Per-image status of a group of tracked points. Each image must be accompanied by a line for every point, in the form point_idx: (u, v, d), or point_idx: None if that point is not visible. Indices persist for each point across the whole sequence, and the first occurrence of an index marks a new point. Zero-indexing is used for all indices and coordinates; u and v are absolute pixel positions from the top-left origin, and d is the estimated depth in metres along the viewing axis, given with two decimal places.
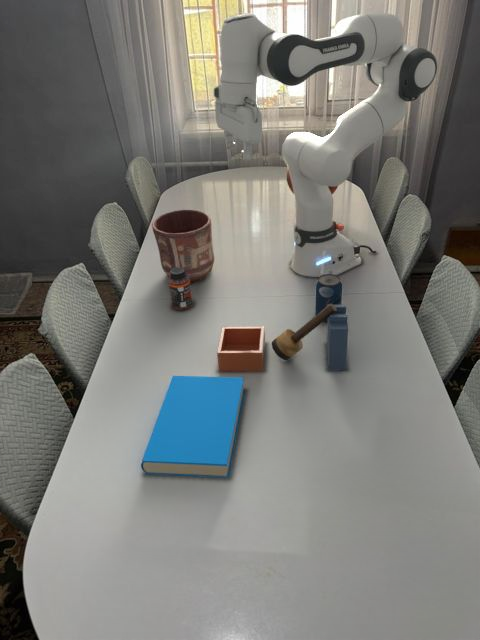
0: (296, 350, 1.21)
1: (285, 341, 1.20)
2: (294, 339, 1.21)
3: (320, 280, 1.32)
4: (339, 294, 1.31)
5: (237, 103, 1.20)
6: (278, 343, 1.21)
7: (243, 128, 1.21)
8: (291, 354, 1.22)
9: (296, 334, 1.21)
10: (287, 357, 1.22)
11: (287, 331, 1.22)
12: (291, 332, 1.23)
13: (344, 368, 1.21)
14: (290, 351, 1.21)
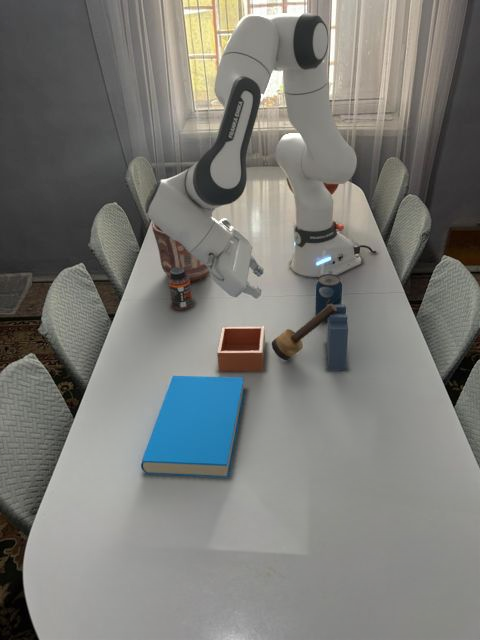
0: (296, 350, 1.21)
1: (285, 341, 1.20)
2: (294, 339, 1.21)
3: (320, 280, 1.32)
4: (339, 294, 1.31)
5: None
6: (278, 343, 1.21)
7: None
8: (291, 354, 1.22)
9: (296, 334, 1.21)
10: (287, 357, 1.22)
11: (287, 331, 1.22)
12: (291, 332, 1.23)
13: (344, 368, 1.21)
14: (290, 351, 1.21)
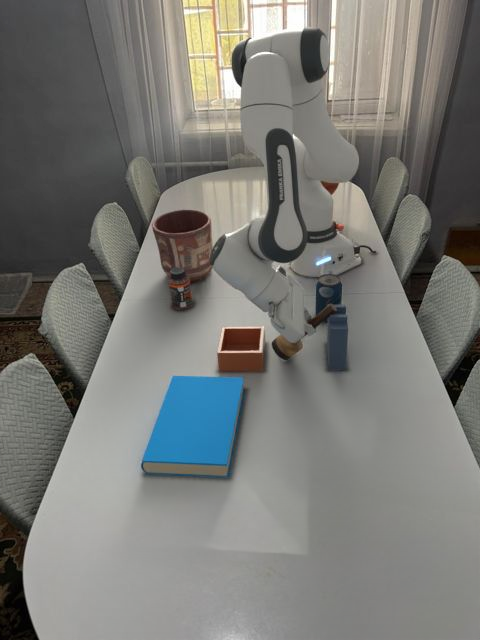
0: (296, 350, 1.21)
1: (285, 341, 1.20)
2: None
3: (320, 280, 1.32)
4: (339, 294, 1.31)
5: (267, 310, 1.13)
6: (278, 343, 1.21)
7: None
8: (291, 354, 1.22)
9: None
10: (287, 357, 1.22)
11: None
12: None
13: (344, 368, 1.21)
14: (290, 351, 1.21)
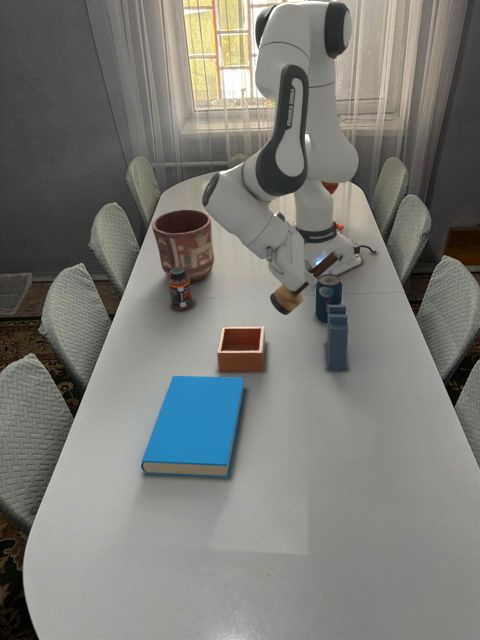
0: (296, 303, 1.13)
1: (284, 293, 1.12)
2: (294, 291, 1.13)
3: (320, 280, 1.32)
4: (339, 294, 1.31)
5: (265, 256, 1.05)
6: (277, 295, 1.13)
7: None
8: (291, 307, 1.14)
9: None
10: (286, 311, 1.14)
11: None
12: None
13: (344, 368, 1.21)
14: (289, 304, 1.13)
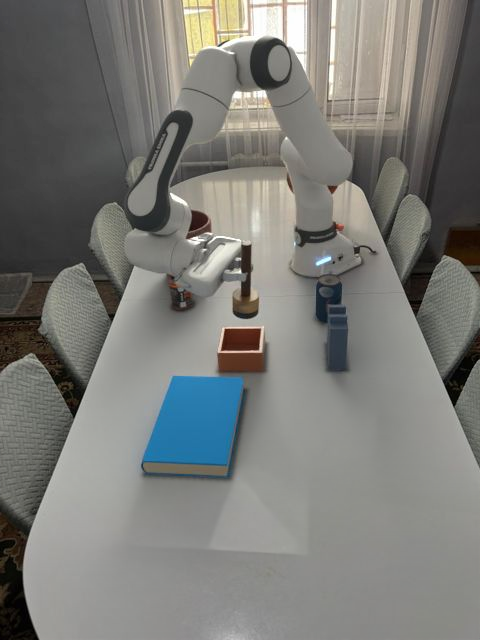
0: (247, 303, 1.13)
1: (233, 300, 1.14)
2: (242, 294, 1.14)
3: (320, 280, 1.32)
4: (339, 294, 1.31)
5: None
6: None
7: None
8: (246, 310, 1.14)
9: (241, 288, 1.14)
10: (246, 314, 1.15)
11: (237, 289, 1.16)
12: None
13: (344, 368, 1.21)
14: (242, 308, 1.14)
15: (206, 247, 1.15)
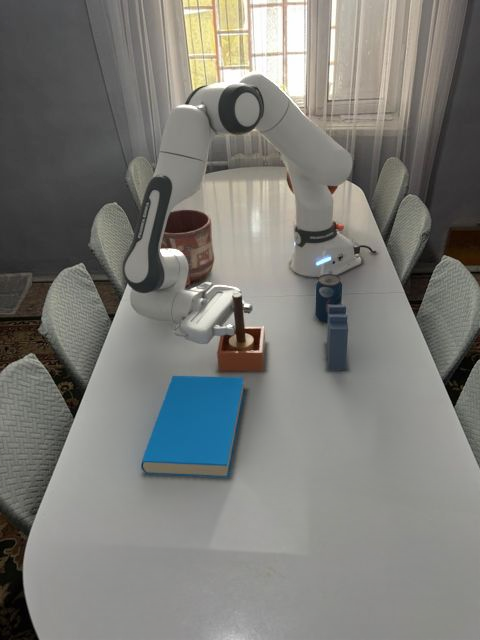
0: (241, 349, 1.21)
1: (229, 346, 1.23)
2: (237, 340, 1.22)
3: (320, 280, 1.32)
4: (339, 294, 1.31)
5: None
6: None
7: None
8: None
9: (236, 335, 1.22)
10: None
11: (233, 336, 1.25)
12: None
13: (344, 368, 1.21)
14: None
15: (204, 296, 1.24)
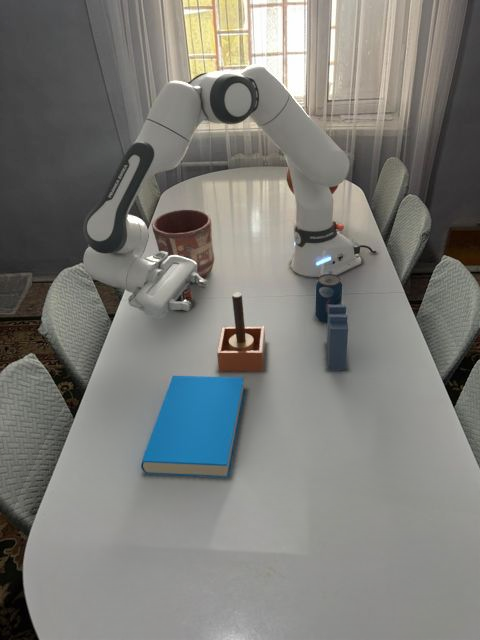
0: (241, 349, 1.21)
1: (229, 346, 1.23)
2: (237, 340, 1.22)
3: (320, 280, 1.32)
4: (339, 294, 1.31)
5: None
6: None
7: None
8: None
9: (236, 335, 1.22)
10: None
11: (233, 336, 1.25)
12: None
13: (344, 368, 1.21)
14: None
15: (160, 267, 1.25)
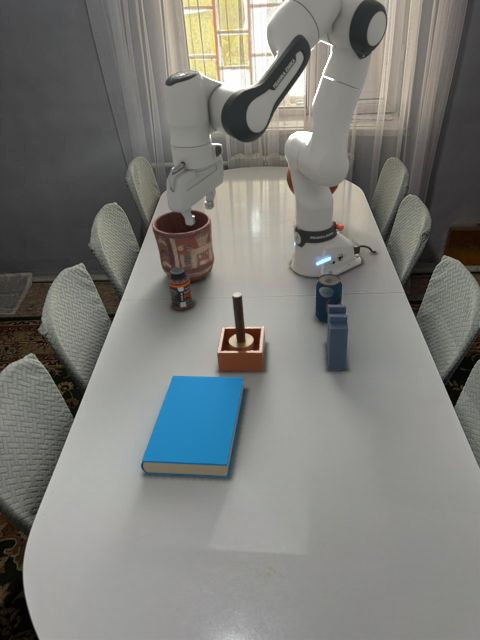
0: (241, 349, 1.21)
1: (229, 346, 1.23)
2: (237, 340, 1.22)
3: (320, 280, 1.32)
4: (339, 294, 1.31)
5: (176, 166, 1.10)
6: None
7: None
8: None
9: (236, 335, 1.22)
10: None
11: (233, 336, 1.25)
12: None
13: (344, 368, 1.21)
14: None
15: None
